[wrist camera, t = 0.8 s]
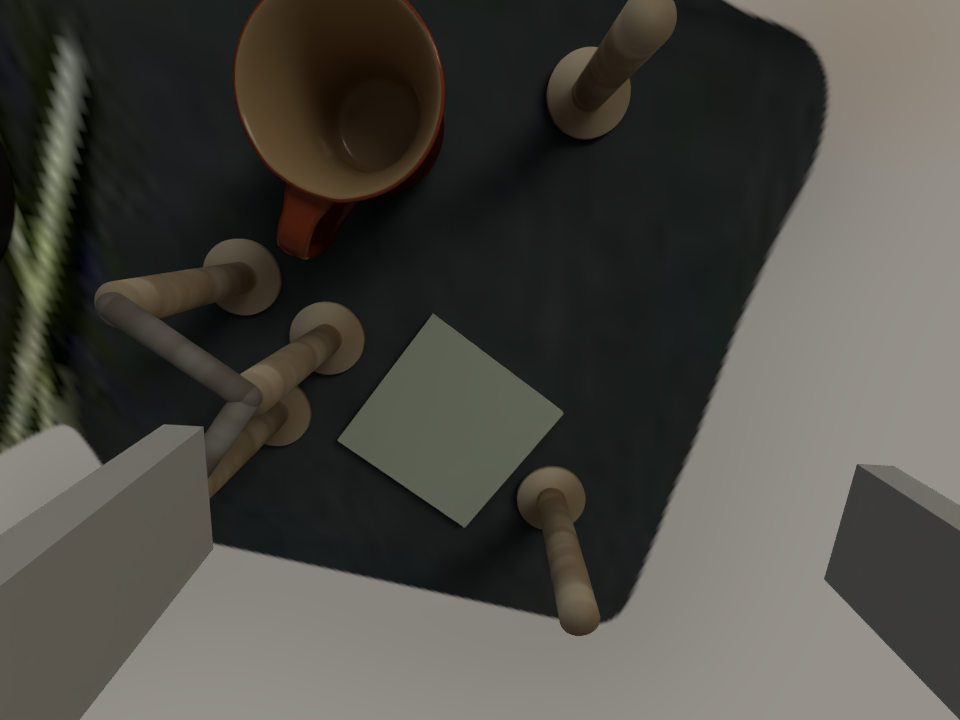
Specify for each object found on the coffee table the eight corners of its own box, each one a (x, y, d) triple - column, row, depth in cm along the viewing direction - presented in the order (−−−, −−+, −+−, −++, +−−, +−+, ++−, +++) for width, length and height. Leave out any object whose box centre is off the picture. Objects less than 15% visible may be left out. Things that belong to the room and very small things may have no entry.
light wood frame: (145, 360, 35) (-42, 436, 23) (231, 222, 33) (76, 222, 20) (288, 455, 37) (186, 574, 24) (379, 330, 34) (319, 392, 22)
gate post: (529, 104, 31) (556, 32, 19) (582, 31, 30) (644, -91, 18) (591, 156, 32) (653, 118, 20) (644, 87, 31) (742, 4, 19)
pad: (339, 436, 36) (337, 440, 36) (432, 313, 34) (432, 315, 34) (464, 523, 38) (464, 527, 37) (562, 410, 36) (563, 413, 35)
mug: (344, 22, 30) (274, -79, 20) (481, 95, 31) (480, 34, 21) (272, 217, 33) (180, 215, 23) (400, 278, 34) (364, 302, 24)
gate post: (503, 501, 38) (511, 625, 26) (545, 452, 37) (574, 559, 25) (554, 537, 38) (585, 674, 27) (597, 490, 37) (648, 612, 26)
